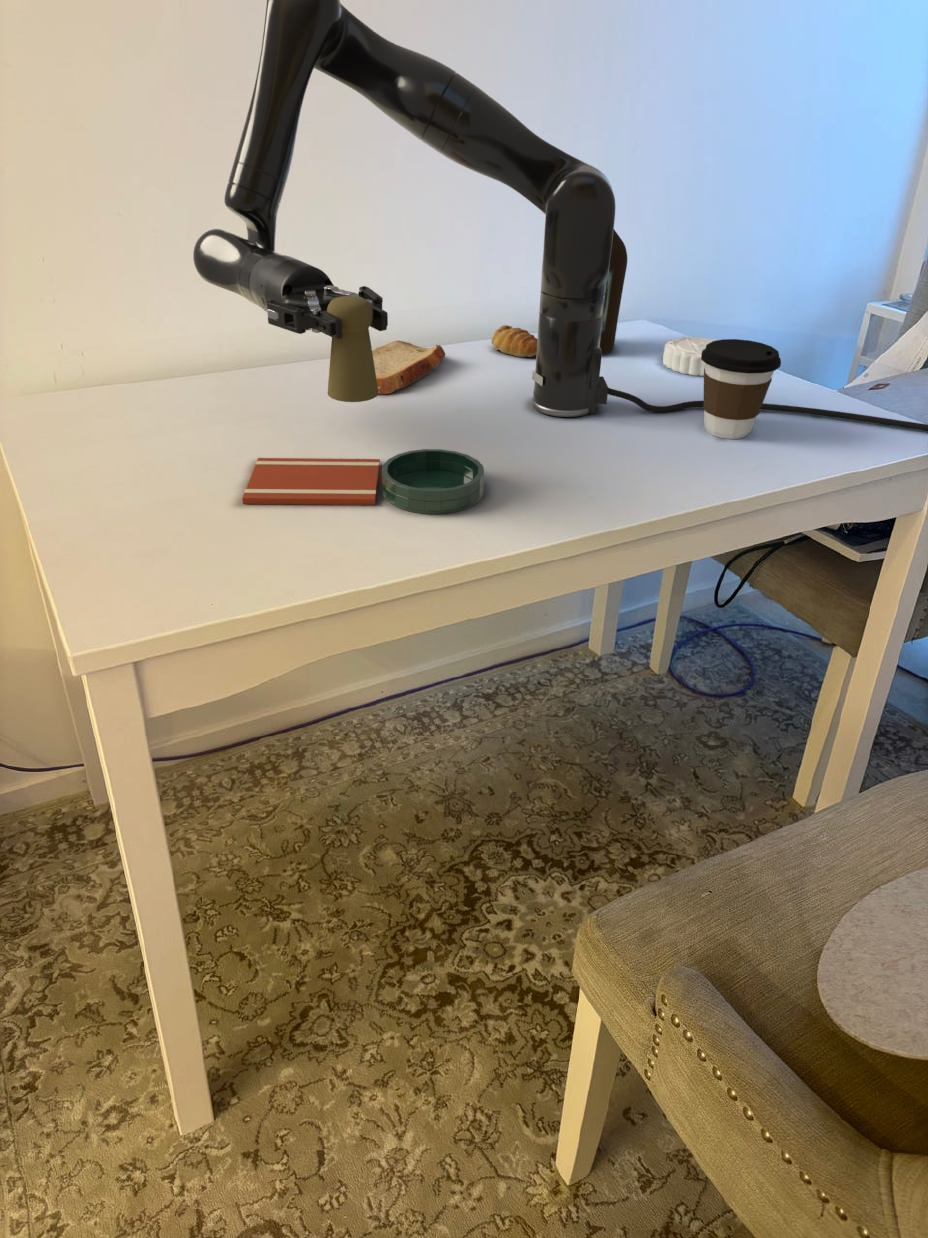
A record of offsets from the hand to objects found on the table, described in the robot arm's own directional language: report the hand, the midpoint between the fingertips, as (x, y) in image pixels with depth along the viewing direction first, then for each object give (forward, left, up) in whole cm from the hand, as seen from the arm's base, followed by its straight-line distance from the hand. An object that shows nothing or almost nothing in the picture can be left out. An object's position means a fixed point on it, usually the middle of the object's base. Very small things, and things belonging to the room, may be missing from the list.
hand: (362, 325), depth 102 cm
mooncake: (-54, -52, -21) cm, 78 cm away
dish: (-8, -1, -21) cm, 22 cm away
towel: (+7, -3, -21) cm, 22 cm away
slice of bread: (-3, -46, -21) cm, 50 cm away
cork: (+2, -2, -9) cm, 9 cm away
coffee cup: (-51, -22, -21) cm, 59 cm away
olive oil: (-36, -61, -21) cm, 74 cm away
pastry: (-23, -59, -21) cm, 67 cm away
